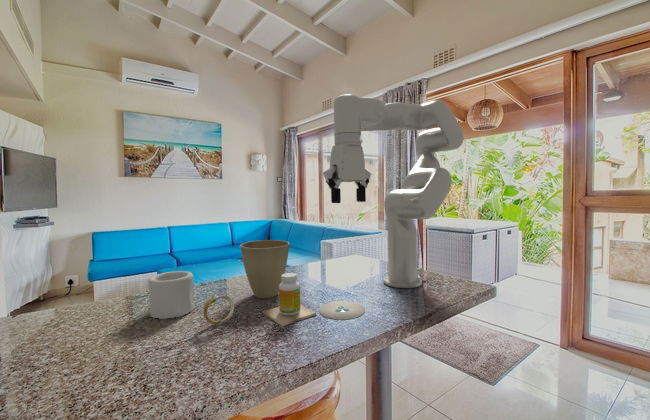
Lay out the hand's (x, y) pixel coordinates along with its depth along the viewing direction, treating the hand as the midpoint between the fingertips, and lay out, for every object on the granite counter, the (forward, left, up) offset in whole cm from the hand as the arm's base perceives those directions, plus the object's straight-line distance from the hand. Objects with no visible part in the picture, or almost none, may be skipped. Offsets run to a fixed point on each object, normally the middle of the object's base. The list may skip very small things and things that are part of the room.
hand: (348, 202), depth 87 cm
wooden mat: (+19, -3, -28) cm, 34 cm away
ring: (+35, -9, -28) cm, 46 cm away
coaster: (+7, +4, -28) cm, 29 cm away
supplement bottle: (+19, -3, -28) cm, 34 cm away
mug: (+42, -27, -29) cm, 58 cm away
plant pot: (+16, -21, -28) cm, 39 cm away
